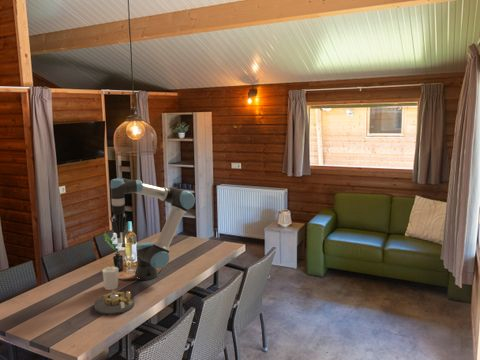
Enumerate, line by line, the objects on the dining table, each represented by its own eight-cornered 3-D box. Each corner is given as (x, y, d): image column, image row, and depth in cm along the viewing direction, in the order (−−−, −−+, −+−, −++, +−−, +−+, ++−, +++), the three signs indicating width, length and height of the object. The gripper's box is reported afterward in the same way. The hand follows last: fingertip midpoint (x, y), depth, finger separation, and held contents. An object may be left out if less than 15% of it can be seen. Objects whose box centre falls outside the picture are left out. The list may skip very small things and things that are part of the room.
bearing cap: (112, 295, 250) (111, 284, 249) (142, 301, 242) (141, 290, 241) (86, 311, 230) (85, 299, 229) (117, 318, 222) (117, 306, 221)
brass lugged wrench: (100, 303, 233) (99, 291, 231) (113, 295, 243) (112, 283, 241) (124, 308, 226) (123, 296, 225) (136, 300, 236) (135, 288, 235)
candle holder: (102, 291, 255) (101, 273, 253) (103, 285, 265) (102, 267, 263) (119, 289, 258) (118, 271, 256) (119, 283, 267) (118, 265, 265)
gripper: (120, 202, 251) (122, 238, 255) (105, 206, 239) (107, 245, 243) (130, 203, 248) (131, 240, 252) (116, 207, 237) (118, 246, 240)
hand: (120, 242), depth 248 cm, fingers closed
